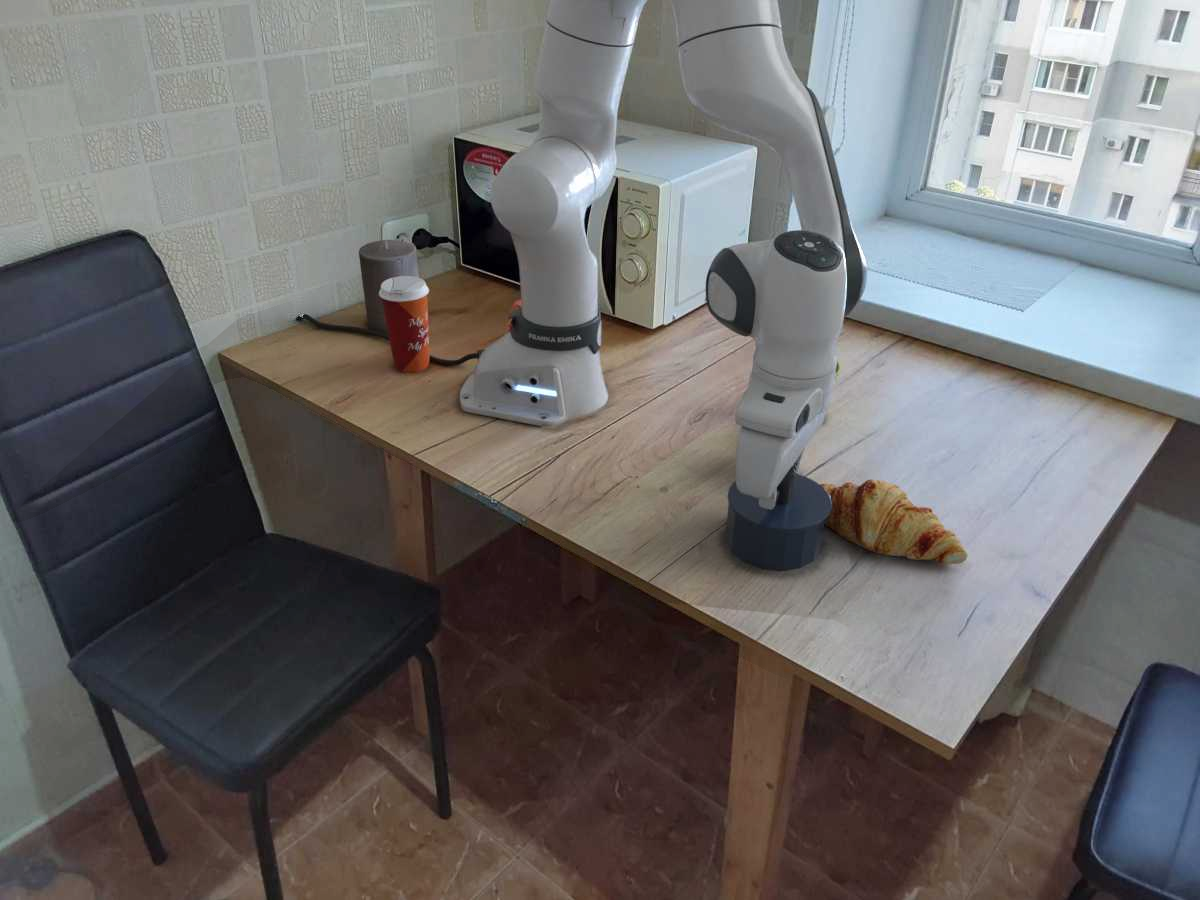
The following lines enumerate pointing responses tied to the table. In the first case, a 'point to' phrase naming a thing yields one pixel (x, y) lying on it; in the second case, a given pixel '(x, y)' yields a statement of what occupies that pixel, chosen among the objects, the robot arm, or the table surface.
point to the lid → (785, 505)
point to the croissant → (890, 523)
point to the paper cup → (407, 321)
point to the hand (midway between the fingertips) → (778, 489)
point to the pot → (772, 545)
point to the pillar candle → (384, 274)
